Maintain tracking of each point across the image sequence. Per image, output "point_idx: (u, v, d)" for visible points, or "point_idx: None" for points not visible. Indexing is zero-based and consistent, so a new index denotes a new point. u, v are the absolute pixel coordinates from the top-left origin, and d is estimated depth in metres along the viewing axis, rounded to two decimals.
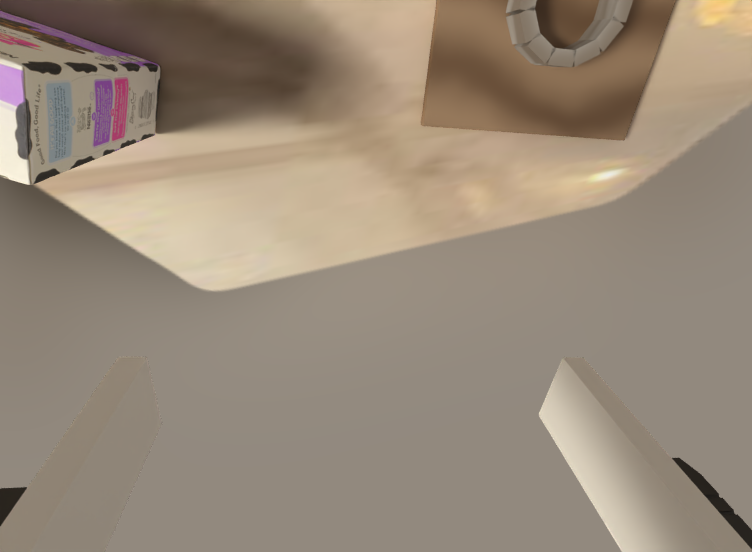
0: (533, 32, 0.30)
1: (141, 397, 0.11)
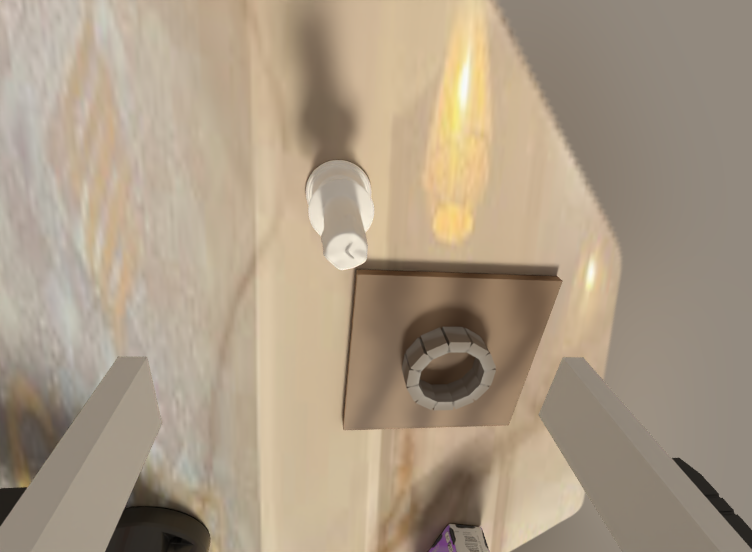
0: (468, 398, 0.40)
1: (141, 397, 0.11)
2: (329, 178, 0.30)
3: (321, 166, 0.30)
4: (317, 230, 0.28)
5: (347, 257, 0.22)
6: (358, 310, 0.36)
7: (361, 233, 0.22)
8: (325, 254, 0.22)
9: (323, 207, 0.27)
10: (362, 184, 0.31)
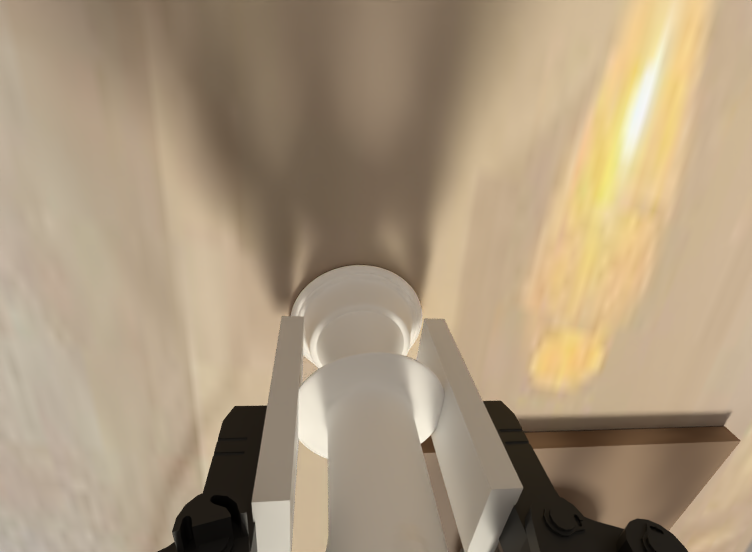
0: None
1: (302, 348, 0.13)
2: (339, 311, 0.14)
3: (322, 279, 0.14)
4: (312, 449, 0.12)
5: None
6: None
7: None
8: None
9: (326, 412, 0.11)
10: (407, 312, 0.15)
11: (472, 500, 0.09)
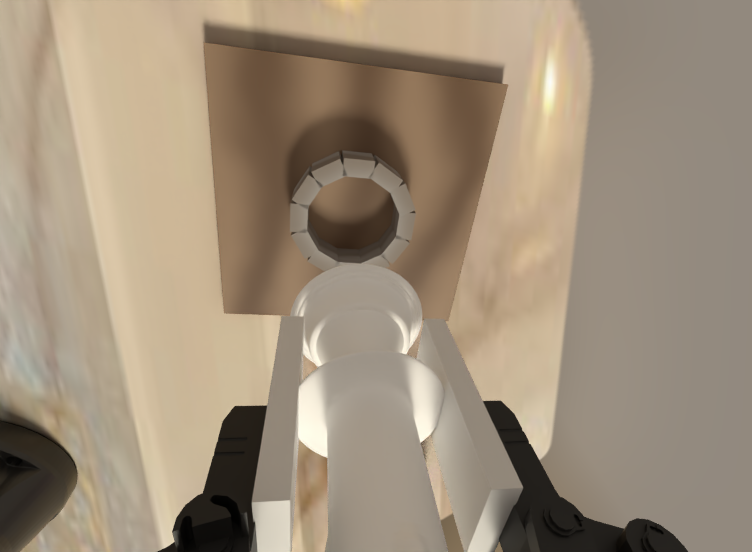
0: (381, 260, 0.30)
1: (302, 348, 0.13)
2: (339, 310, 0.14)
3: (322, 278, 0.14)
4: (312, 447, 0.12)
5: None
6: (215, 110, 0.26)
7: None
8: None
9: (326, 410, 0.11)
10: (406, 311, 0.15)
11: (472, 500, 0.09)
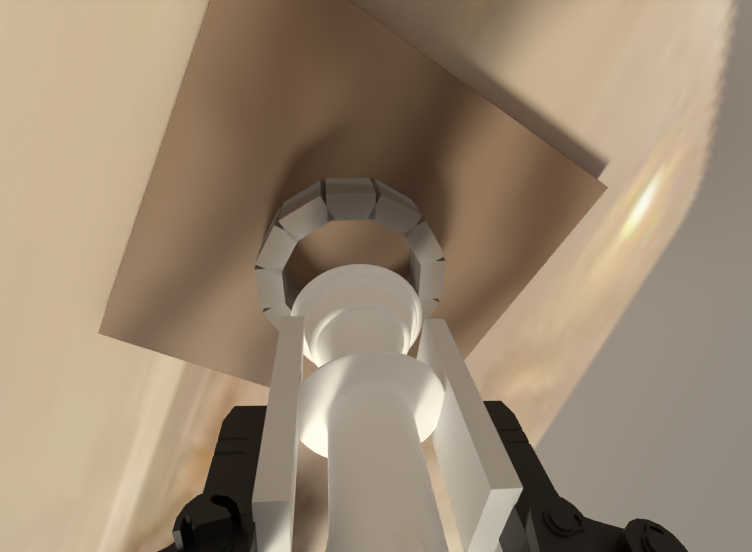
0: None
1: (302, 348, 0.13)
2: (339, 310, 0.14)
3: (322, 278, 0.14)
4: (312, 448, 0.12)
5: None
6: (210, 35, 0.15)
7: None
8: None
9: (326, 411, 0.11)
10: (407, 311, 0.15)
11: (472, 500, 0.09)
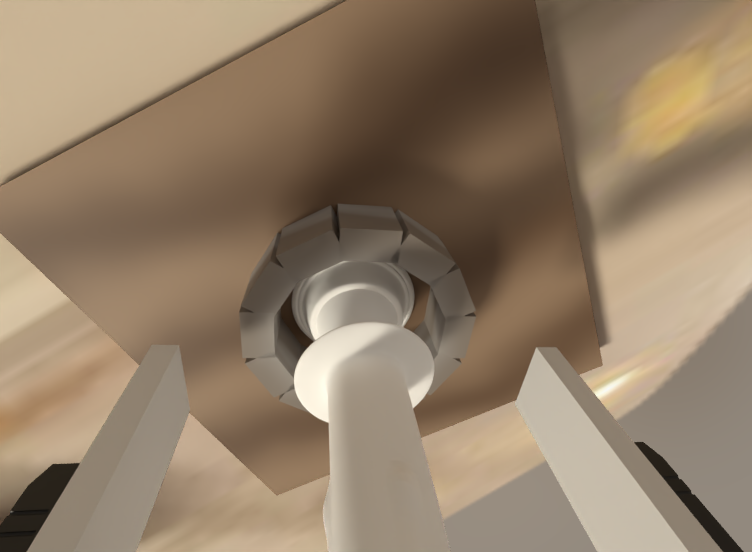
0: None
1: (174, 383, 0.11)
2: (338, 290, 0.15)
3: None
4: (314, 412, 0.13)
5: None
6: None
7: None
8: None
9: (327, 376, 0.12)
10: (400, 291, 0.16)
11: None
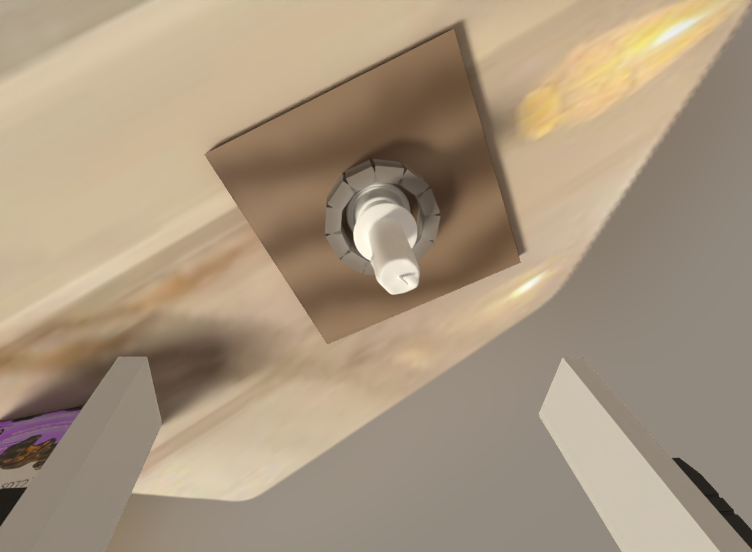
0: (362, 264, 0.32)
1: (141, 397, 0.11)
2: (372, 200, 0.30)
3: None
4: (361, 251, 0.29)
5: (400, 282, 0.23)
6: (405, 60, 0.27)
7: (414, 259, 0.23)
8: (379, 279, 0.22)
9: (368, 229, 0.28)
10: (402, 206, 0.32)
11: None
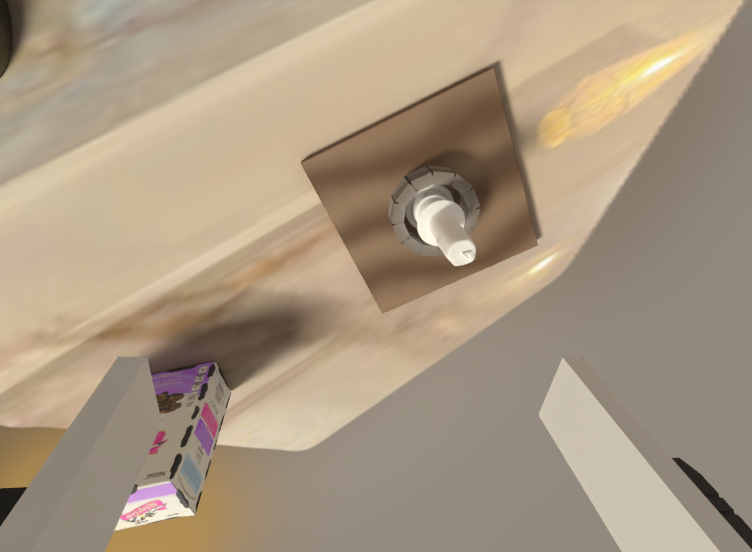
0: (418, 247, 0.41)
1: (141, 397, 0.11)
2: (427, 197, 0.39)
3: None
4: (422, 236, 0.38)
5: (462, 257, 0.32)
6: (456, 91, 0.36)
7: None
8: (447, 255, 0.32)
9: (429, 220, 0.37)
10: None
11: None
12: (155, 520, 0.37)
